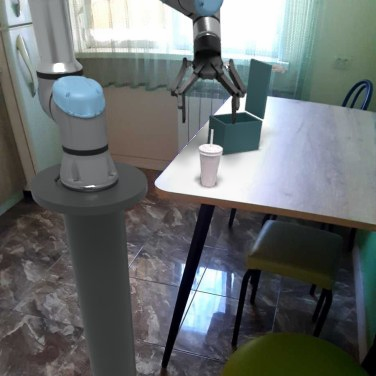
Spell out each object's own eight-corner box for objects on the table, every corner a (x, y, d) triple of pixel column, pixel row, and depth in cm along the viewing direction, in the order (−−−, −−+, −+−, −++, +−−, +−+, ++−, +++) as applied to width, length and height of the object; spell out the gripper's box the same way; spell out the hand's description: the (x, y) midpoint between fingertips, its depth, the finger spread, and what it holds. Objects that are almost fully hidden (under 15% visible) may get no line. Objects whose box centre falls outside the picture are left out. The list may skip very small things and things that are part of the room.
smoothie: (220, 180, 116) (225, 127, 106) (218, 190, 111) (223, 135, 102) (198, 178, 117) (201, 125, 107) (194, 187, 112) (197, 132, 102)
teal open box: (222, 154, 131) (225, 125, 125) (207, 144, 138) (209, 115, 132) (258, 149, 136) (262, 120, 130) (241, 139, 143) (245, 111, 137)
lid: (270, 65, 120) (292, 64, 122) (250, 58, 126) (272, 57, 129) (261, 119, 129) (282, 117, 132) (244, 110, 136) (264, 108, 139)
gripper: (249, 54, 115) (251, 129, 115) (160, 52, 113) (162, 127, 113) (255, 34, 108) (258, 113, 107) (161, 31, 106) (162, 111, 105)
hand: (209, 121), depth 110 cm, fingers open, 13 cm apart
